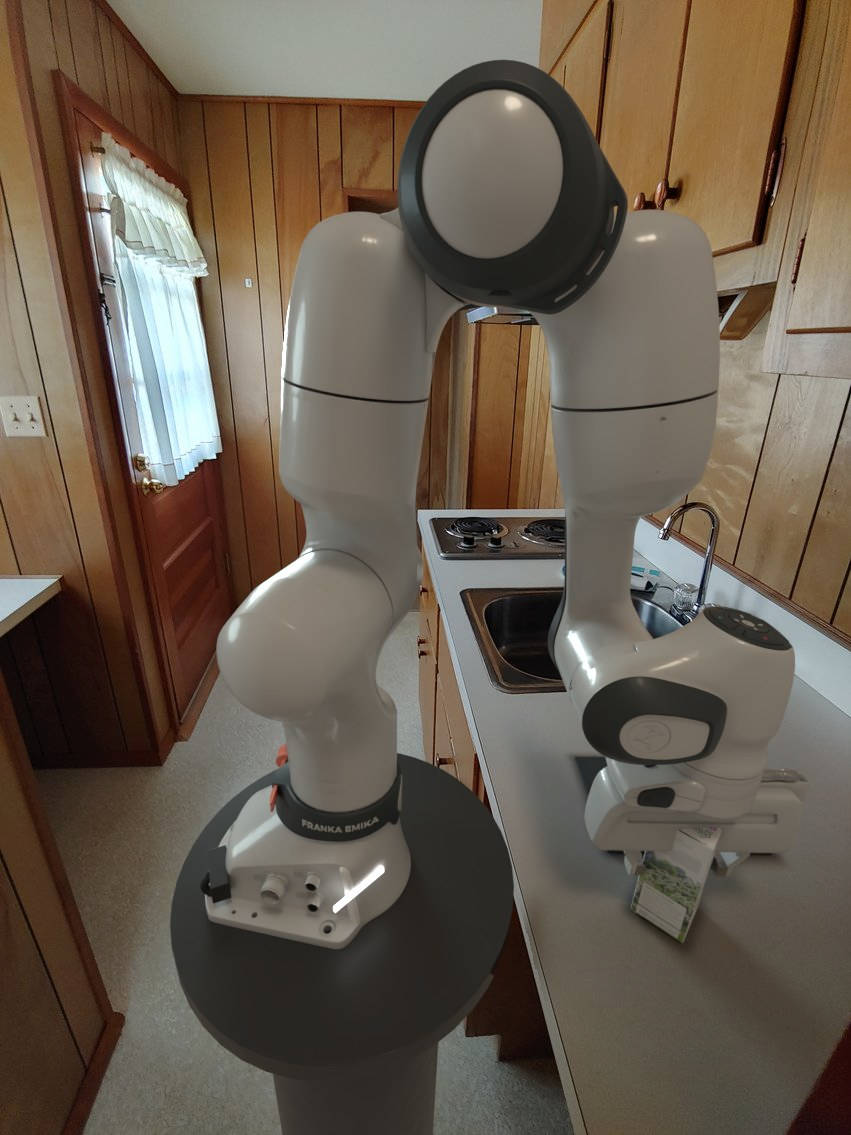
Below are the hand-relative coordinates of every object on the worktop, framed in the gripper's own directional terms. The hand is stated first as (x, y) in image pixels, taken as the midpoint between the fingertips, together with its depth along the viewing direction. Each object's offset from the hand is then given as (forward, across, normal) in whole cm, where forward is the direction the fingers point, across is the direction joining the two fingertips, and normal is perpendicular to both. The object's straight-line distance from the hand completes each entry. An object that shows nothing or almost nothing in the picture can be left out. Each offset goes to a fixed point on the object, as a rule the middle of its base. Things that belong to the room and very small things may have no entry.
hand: (675, 870), depth 58 cm
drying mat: (+6, -6, -15) cm, 17 cm away
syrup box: (+6, 0, 0) cm, 6 cm away
